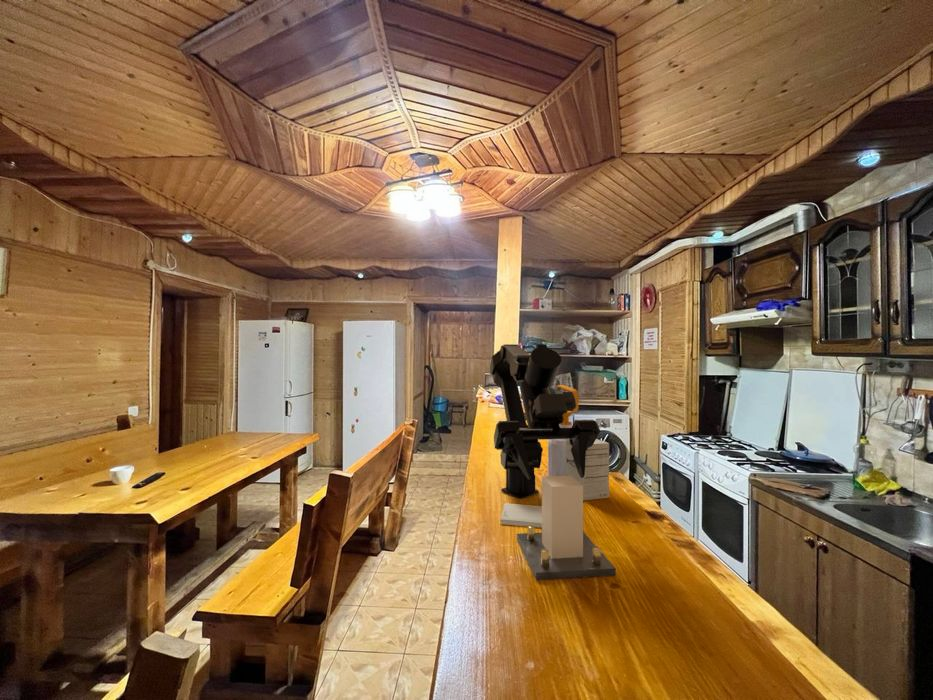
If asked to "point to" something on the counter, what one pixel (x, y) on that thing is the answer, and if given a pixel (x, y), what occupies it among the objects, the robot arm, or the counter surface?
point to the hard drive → (521, 515)
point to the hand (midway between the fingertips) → (556, 477)
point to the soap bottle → (560, 442)
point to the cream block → (562, 516)
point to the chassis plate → (563, 559)
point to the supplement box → (591, 470)
